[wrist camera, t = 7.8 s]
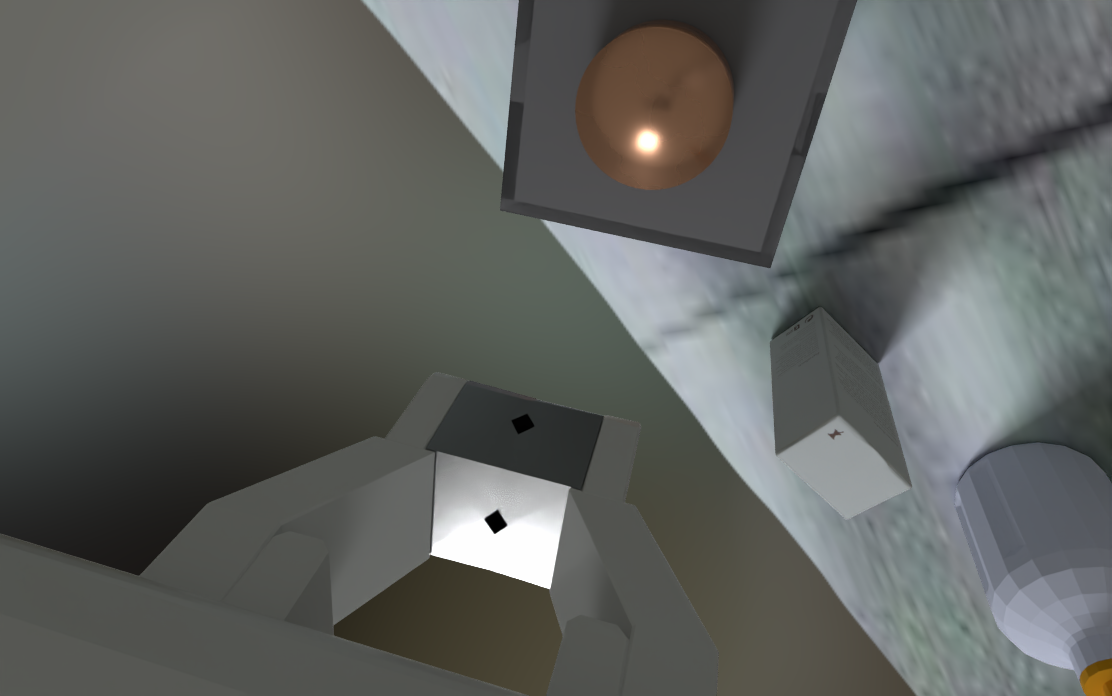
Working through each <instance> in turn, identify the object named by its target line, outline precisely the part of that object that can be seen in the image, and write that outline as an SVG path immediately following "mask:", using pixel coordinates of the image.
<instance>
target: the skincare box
mask: <svg viewBox="0 0 1112 696" xmlns="http://www.w3.org/2000/svg"><path fill="white" fill-rule="evenodd" d="M770 355H771V374H772V396H773V415H774V435H775V453H776V456H777V457H778V458H779V459H780V460H781V461H782V462H783V463H784V464H785V465H786V466H788V467H789V468H790V469H791V470H792V471H793V472H794V473H795V474H796V475H797V476H798V477H800V478H801V479H802V480H803V481H804V482H805V483H806V484H807V485H808V486H810V487H811V488H812V489H813V490H814V491H815V492H816V493H817V494H819V495H820V496H821V497H822V498H823V499H824V500H825V501H826V502H827V503H828V504H830V505H831V506H832V507H833V508H834V509H835V510H836V511H837V512H838V513H839V514H840V515H842V516H843V518H844V519H846V520H848V519H850V518H852V517H854V516H856V515H858V514H860V513H862V512H864V511H866V510H868V509H870V508H871V507H873V506H875V505H877V504H880V503H882V502H884V501H886V500H888V499H890V498H892V497H894V496H896V495H898V494H900V493H902V492H905V491H907V490H909V489H911V488H912V484H911V481H910V477H909V474H908V470H907V466H906V462H905V459H904V455H903V451H902V448H901V444H900V441H899V437H898V434H897V430H896V426H895V422H894V419H893V416H892V412H891V408H890V405H889V401H888V398H887V394H886V391H885V387H884V383H883V380H882V376H881V372H880V369H879V365H878V364H877V363H876V362H875V361H874V360H873V359H872V358H871V357H870V356H869V355H868V354H867V353H866V351H865V350H864V349H863V348H862V347H861V346H860V345H859V344H858V343H857V342H856V341H855V340H854V339H853V338H852V337H851V336H850V335H849V334H848V333H847V332H846V331H845V330H844V329H843V328H842V327H841V326H840V325H839V324H838V323H837V322H836V321H835V320H834V319H833V318H832V317H831V316H830V315H829V314H828V313H827V312H826V311H825V310H824V309H823V308H822V307H818V308H817V309H815V310H814V311H813V312H811V313H810V314H808V315H807V316H806V317H804V318H803V319H801V320H800V321H799V322H797V323H796V324H794V325H793V326H791V327H790V328H789V329H787V330H786V331H784V332H783V333H781V334H780V335H779V336H777V337H776V338H774V339H773V340H772V341H771V342H770Z"/></svg>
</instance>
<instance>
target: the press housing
mask: <svg viewBox="0 0 1112 696" xmlns="http://www.w3.org/2000/svg"><path fill="white" fill-rule="evenodd" d="M856 2H857V0H519V6H518V17H517V28H516V40H515V51H514V62H513V73H512V84H511V95H510V106H509V117H508V128H507V139H506V150H505V161H504V172H503V183H502V194H501V206H500V210H501V211H506V212H511V213H515V214H520V215H524V216H529V217H534V218H538V219H543V220H547V221H552V222H557V223H561V224H566V225H571V226H575V227H580V228H585V229H589V230H594V231H599V232H603V233H608V234H613V235H617V236H622V237H627V238H631V239H636V240H641V241H645V242H650V243H655V244H659V245H664V246H669V247H673V248H678V249H683V250H687V251H692V252H697V253H701V254H706V255H711V256H715V257H720V258H725V259H729V260H734V261H739V262H743V263H748V264H753V265H757V266H762V267H767V268H771V265H772V261H773V258H774V255H775V252H776V249H777V246H778V243H779V240H780V237H781V234H782V231H783V227H784V224H785V221H786V218H787V215H788V212H789V209H790V206H791V203H792V200H793V197H794V194H795V190H796V187H797V184H798V181H799V178H800V175H801V172H802V169H803V166H804V163H805V160H806V156H807V153H808V150H809V147H810V144H811V141H812V138H813V135H814V132H815V129H816V126H817V123H818V119H819V116H820V113H821V110H822V107H823V104H824V101H825V98H826V95H827V92H828V89H829V86H830V82H831V79H832V76H833V73H834V70H835V67H836V64H837V61H838V58H839V55H840V52H841V48H842V45H843V42H844V39H845V36H846V33H847V30H848V27H849V24H850V21H851V18H852V15H853V11H854V8H855V5H856ZM653 20H674V21H679V22H683V23H686V24H688V25H691V26H693V27H695V28H697V29H699V30H700V31H702V32H703V33H705V34H706V35H707V36H708V37H710V38H711V39H712V40H713V41H714V42H715V43H716V44H717V46H718V47H719V48H720V50H721V51H722V53H723V54H724V56H725V58H726V60H727V62H728V64H729V67H730V70H731V73H732V78H733V83H734V104H733V114H732V121H731V127H730V130H729V133H728V136H727V139H726V141H725V143H724V145H723V148H722V149H721V151H720V152H719V154H718V156H717V157H716V158H715V159H714V161H713V162H712V163H711V164H710V165H709V166H708V167H707V168H706V169H705V170H704V171H703V172H702V173H700V174H699V175H697V176H696V177H695V178H693V179H691V180H689V181H687V182H686V183H683V184H681V185H678V186H675V187H671V188H667V189H660V190H645V189H638V188H634V187H630V186H627V185H624V184H622V183H620V182H618V181H616V180H614V179H612V178H611V177H609V176H608V175H607V174H605V173H604V172H603V171H602V170H601V169H600V168H599V167H598V166H597V165H596V164H595V163H594V162H593V161H592V159H591V158H590V157H589V155H588V154H587V152H586V150H585V149H584V146H583V144H582V142H581V140H580V137H579V133H578V130H577V125H576V117H575V104H576V96H577V91H578V87H579V84H580V81H581V78H582V76H583V74H584V72H585V70H586V68H587V67H588V65H589V64H590V62H591V61H592V59H593V58H594V57H595V56H596V55H597V54H598V52H599V51H601V50H602V49H603V48H604V47H605V46H606V45H607V44H608V43H610V42H611V41H612V40H613V39H614V38H615V37H617V36H618V35H619V34H621V33H622V32H624V31H625V30H627V29H629V28H631V27H633V26H635V25H637V24H640V23H643V22H647V21H653Z"/></svg>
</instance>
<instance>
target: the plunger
mask: <svg viewBox="0 0 1112 696" xmlns="http://www.w3.org/2000/svg"><path fill="white" fill-rule="evenodd" d="M733 104H734V83H733V78H732V73H731V70H730V67H729V64H728V62H727V60H726V58H725V56H724V54H723V53H722V51H721V50H720V48H719V47H718V46H717V44H716V43H715V42H714V41H713V40H712V39H711V38H710V37H708V36H707V35H706V34H705V33H703V32H702V31H700V30H699V29H697V28H695V27H693V26H691V25H688V24H686V23H683V22H679V21H674V20H653V21H647V22H643V23H640V24H637V25H635V26H633V27H631V28H629V29H627V30H625V31H624V32H622V33H621V34H619V35H618V36H617V37H615V38H614V39H613V40H612V41H611V42H610V43H608V44H607V45H606V46H605V47H604V48H603V49H602V50H601V51H599V52H598V54H597V55H596V56H595V57H594V58H593V59H592V61H591V62H590V64H589V65H588V67H587V68H586V70H585V72H584V74H583V76H582V78H581V81H580V84H579V87H578V91H577V96H576V104H575V117H576V125H577V130H578V133H579V137H580V140H581V142H582V144H583V146H584V149H585V150H586V152H587V154H588V155H589V157H590V158H591V159H592V161H593V162H594V163H595V164H596V165H597V166H598V167H599V168H600V169H601V170H602V171H603V172H604V173H605V174H607V175H608V176H609V177H611V178H612V179H614V180H616V181H618V182H620V183H622V184H624V185H627V186H630V187H634V188H638V189H645V190H660V189H667V188H671V187H675V186H678V185H681V184H683V183H686V182H687V181H689V180H691V179H693V178H695V177H696V176H697V175H699V174H700V173H702V172H703V171H704V170H705V169H706V168H707V167H708V166H709V165H710V164H711V163H712V162H713V161H714V159H715V158H716V157H717V156H718V154H719V152H720V151H721V149H722V148H723V145H724V143H725V141H726V139H727V136H728V133H729V130H730V127H731V121H732V114H733Z"/></svg>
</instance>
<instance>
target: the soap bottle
mask: <svg viewBox="0 0 1112 696" xmlns="http://www.w3.org/2000/svg"><path fill="white" fill-rule="evenodd" d="M954 505H955V508H956V510H957V513H958V516H959V519H960V522H961V525H962V528H963V531H964V533H965V536H966V539H967V542H968V545H969V548H970V551H971V554H972V556H973V559H974V562H975V565H976V568H977V571H978V574H979V577H980V579H981V582H982V585H983V588H984V591H985V594H986V597H987V600H988V602H989V605H990V608H991V611H992V613H993V616H994V618H995V621H996V623H997V626H998V628H999V629H1000V630H1001V631H1002V632H1003V633H1004V634H1005V635H1006V636H1007V638H1008V639H1009V640H1010V641H1011V642H1013V643H1014V644H1015V645H1016V646H1017V647H1018V648H1019V649H1020V650H1021V651H1023V652H1024V653H1025V654H1027V655H1029V656H1031V657H1033V658H1036V659H1038V660H1040V661H1042V662H1045V663H1047V664H1050V665H1054V666H1058V667H1061V668H1066V669H1071V670H1075V672H1076V675H1077V677H1078V679H1079V682H1080V684H1081V686H1082V688H1083V691H1084V693H1085V694H1086V695H1087V696H1112V483H1111V481H1110V480H1109V478H1108V477H1107V475H1106V474H1105V472H1104V471H1103V470H1102V469H1101V468H1100V467H1099V466H1098V465H1097V464H1096V463H1095V462H1094V461H1093V460H1092V459H1091V458H1090V457H1088V456H1086V455H1084V454H1082V453H1080V452H1077V451H1075V450H1073V449H1071V448H1068V447H1066V446H1062V445H1055V444H1047V443H1040V442H1036V443H1028V444H1019V445H1011V446H1008V447H1005V448H1003V449H1000V450H997V451H995V452H992V453H989V454H987V455H985V456H984V457H982V458H981V459H980V460H978V461H977V462H976V463H974V464H973V465H972V466H970V467H969V468H968V469H967V471H966V472H965V474H964V475H963V477H962V478H961V480H960V481H959V483H958V484H957V487H956V495H955V503H954Z"/></svg>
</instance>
